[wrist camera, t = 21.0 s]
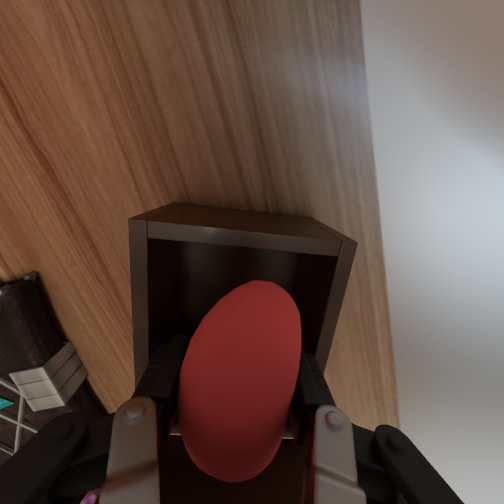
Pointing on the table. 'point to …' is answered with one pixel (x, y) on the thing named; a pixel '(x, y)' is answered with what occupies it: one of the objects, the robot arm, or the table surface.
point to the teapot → (91, 496)
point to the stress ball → (240, 381)
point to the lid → (227, 493)
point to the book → (34, 369)
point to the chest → (231, 272)
